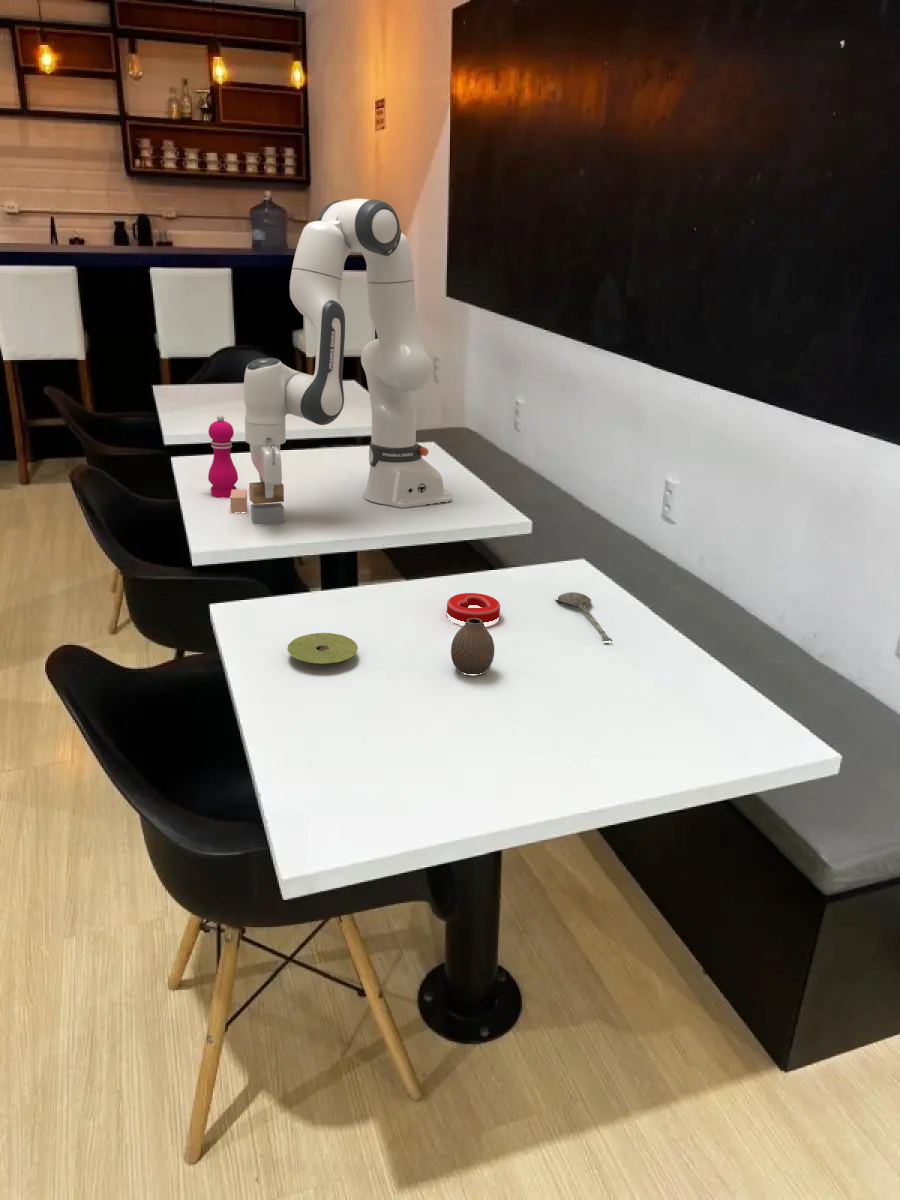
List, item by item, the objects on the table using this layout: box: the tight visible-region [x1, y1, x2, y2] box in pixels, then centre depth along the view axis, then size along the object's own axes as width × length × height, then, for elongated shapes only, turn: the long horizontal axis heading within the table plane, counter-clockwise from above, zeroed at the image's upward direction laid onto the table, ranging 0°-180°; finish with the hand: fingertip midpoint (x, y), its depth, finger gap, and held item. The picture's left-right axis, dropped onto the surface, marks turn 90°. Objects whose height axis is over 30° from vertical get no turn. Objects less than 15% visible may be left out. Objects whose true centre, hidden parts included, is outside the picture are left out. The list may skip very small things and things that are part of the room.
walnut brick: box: [248, 481, 285, 504], centre depth 209 cm, size 7×4×4 cm, turn 116°
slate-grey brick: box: [250, 502, 285, 525], centre depth 211 cm, size 7×4×4 cm, turn 110°
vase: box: [450, 618, 495, 674], centre depth 145 cm, size 7×7×9 cm
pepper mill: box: [207, 414, 239, 498], centre depth 226 cm, size 7×7×20 cm
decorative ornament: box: [446, 592, 501, 623], centre depth 166 cm, size 10×10×3 cm
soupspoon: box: [557, 592, 613, 642], centre depth 169 cm, size 22×3×7 cm
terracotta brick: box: [229, 488, 248, 514], centre depth 218 cm, size 7×4×4 cm, turn 10°
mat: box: [286, 632, 359, 664], centre depth 148 cm, size 11×11×2 cm
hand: (267, 493), depth 209 cm, fingers closed on walnut brick, 4 cm apart
